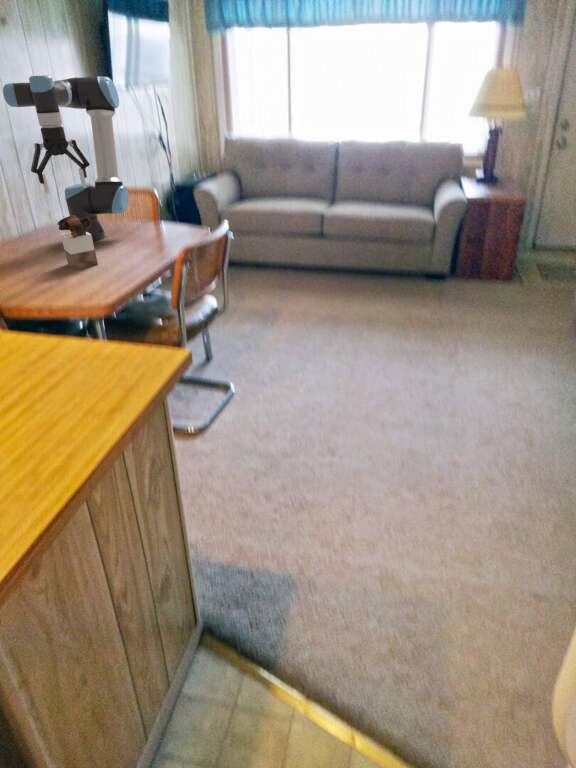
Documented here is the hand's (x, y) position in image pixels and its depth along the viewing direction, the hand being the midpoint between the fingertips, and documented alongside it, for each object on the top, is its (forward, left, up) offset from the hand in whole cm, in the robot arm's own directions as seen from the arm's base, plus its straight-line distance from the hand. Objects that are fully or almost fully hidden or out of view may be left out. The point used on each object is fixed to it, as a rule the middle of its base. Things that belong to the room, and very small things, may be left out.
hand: (66, 190), depth 200 cm
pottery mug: (0, +1, -16) cm, 16 cm away
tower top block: (0, 0, -22) cm, 22 cm away
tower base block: (0, 0, -28) cm, 28 cm away
